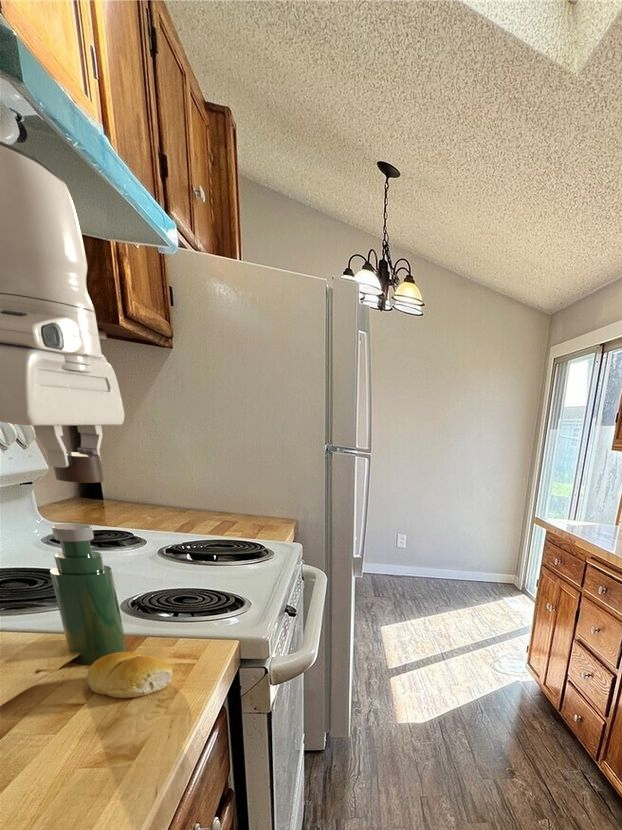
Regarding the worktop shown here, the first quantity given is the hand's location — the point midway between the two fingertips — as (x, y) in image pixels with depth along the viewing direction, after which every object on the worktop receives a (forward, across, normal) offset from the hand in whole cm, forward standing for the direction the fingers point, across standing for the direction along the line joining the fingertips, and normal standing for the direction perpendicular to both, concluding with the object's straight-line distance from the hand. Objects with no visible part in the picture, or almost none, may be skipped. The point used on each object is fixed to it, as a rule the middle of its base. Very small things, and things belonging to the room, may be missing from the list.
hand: (77, 465), depth 68 cm
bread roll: (+25, +10, +7) cm, 28 cm away
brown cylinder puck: (+2, 0, 0) cm, 2 cm away
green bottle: (+25, +2, -1) cm, 25 cm away
